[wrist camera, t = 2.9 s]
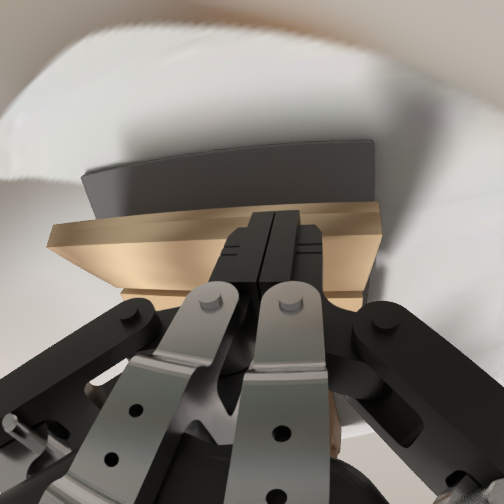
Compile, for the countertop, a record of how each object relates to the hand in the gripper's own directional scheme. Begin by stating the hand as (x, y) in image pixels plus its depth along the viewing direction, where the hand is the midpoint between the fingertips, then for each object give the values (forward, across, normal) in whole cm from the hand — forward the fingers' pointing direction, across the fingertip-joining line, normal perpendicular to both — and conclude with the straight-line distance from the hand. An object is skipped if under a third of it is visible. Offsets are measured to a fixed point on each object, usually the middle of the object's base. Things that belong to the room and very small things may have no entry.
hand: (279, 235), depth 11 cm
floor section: (+6, +4, +4) cm, 9 cm away
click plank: (+3, +4, +3) cm, 6 cm away
